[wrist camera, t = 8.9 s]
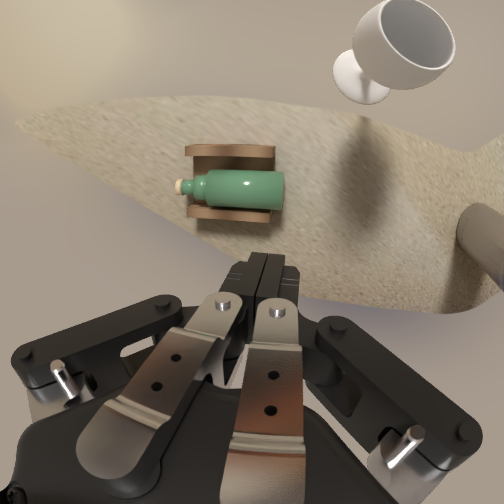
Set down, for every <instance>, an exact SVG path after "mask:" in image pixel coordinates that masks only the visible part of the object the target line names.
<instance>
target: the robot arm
mask: <svg viewBox="0 0 504 504" xmlns="http://www.w3.org/2000/svg"><path fill="white" fill-rule="evenodd" d="M457 239H458V243H459V245H460V247H461V248H462V249H463V250H464V251H465V252H466V253H467V254H468V255H469V256H470V257H471V258H472V259H473V260H474V261H475V262H476V263H477V264H478V265H479V266H480V267H481V268H482V269H483V270H484V271H485V272H486V273H487V274H488V275H489V277H490V278H491V279H492V280H493V281H494V282H495V283H496V284H497V285H498V286H499V287H500V289H501V290H502V291H503V292H504V215H502V214H500V213H499V212H497V211H496V210H494V209H492V208H490V207H489V206H487V205H485V204H482V203H476V204H473V205H471V206H470V207H468V208H467V209H466V210H465V211H464V213H463V214H462V216H461V218H460V220H459V223H458V228H457ZM299 279H300V272H299V271H298V269H297V268H296V267H294V266H285V255H280V254H269V255H268V253H258V252H252V253H251V255H250V257H249V260H248V262H243V261H239V262H237V263H236V264H234V265H233V266H232V267H231V269H230V271H229V273H228V275H227V277H226V279H225V280H224V282H223V284H222V286H221V288H220V290H219V292H217V293H213V294H211V295H209V296H207V297H206V298H205V300H204V301H203V302H202V304H201V305H200V306H192V307H182V303H181V300H180V299H179V298H178V297H176V296H173V295H158V296H155V297H152V298H150V299H147V300H144V301H141V302H139V303H136V304H133V305H131V306H128V307H125V308H122V309H120V310H117V311H114V312H112V313H109V314H106V315H103V316H101V317H98V318H95V319H93V320H90V321H87V322H84V323H81V324H79V325H76V326H73V327H71V328H68V329H65V330H62V331H59V332H57V333H54V334H51V335H48V336H45V337H43V338H40V339H37V340H34V341H31V342H29V343H26V344H24V345H21V346H20V347H18V348H17V349H16V350H15V351H14V353H13V355H12V357H11V365H12V367H13V368H14V370H15V371H16V373H17V374H18V376H19V377H20V379H21V380H22V383H23V384H24V386H25V387H26V389H27V395H28V400H29V407H30V412H31V417H32V422H33V424H31V425H30V426H29V427H28V428H26V430H25V431H24V432H23V434H22V435H21V437H20V439H19V442H18V445H17V453H16V462H15V467H14V472H13V475H12V479H11V481H10V483H9V485H8V486H7V487H6V488H5V489H4V490H2V491H0V504H420V503H421V502H422V501H423V500H424V499H425V498H426V497H427V496H428V495H429V494H430V493H431V492H432V491H433V490H434V489H435V487H436V486H437V485H438V484H439V483H440V482H441V481H442V479H443V478H444V477H445V476H446V475H447V474H448V473H450V472H451V471H453V470H454V469H455V468H456V467H458V466H459V465H460V464H462V463H463V462H464V461H466V460H467V459H468V458H469V457H470V456H472V455H473V454H474V453H475V452H476V451H477V450H478V449H479V448H480V446H481V444H482V439H483V435H482V429H481V427H480V425H479V424H478V422H477V421H476V420H475V419H474V418H472V417H471V416H470V415H469V414H467V413H466V412H465V411H464V410H463V409H461V408H460V407H459V406H458V405H456V404H455V403H454V402H453V401H451V400H450V399H449V398H448V397H447V396H445V395H444V394H443V393H442V392H440V391H439V390H438V389H437V388H435V387H434V386H433V385H432V384H430V383H429V382H428V381H426V380H425V379H424V378H423V377H422V376H420V375H419V374H418V373H417V372H415V371H414V370H413V369H412V368H410V367H409V366H408V365H407V364H405V363H404V362H403V361H402V360H400V359H399V358H398V357H397V356H395V355H394V354H393V353H392V352H390V351H389V350H388V349H386V348H385V347H384V346H383V345H382V344H380V343H379V342H378V341H376V340H375V339H374V338H373V337H371V336H370V335H369V334H368V333H366V332H365V331H364V330H363V329H361V328H360V327H359V326H358V325H356V324H355V323H354V322H352V321H351V320H349V319H347V318H345V317H341V316H328V317H325V318H323V319H321V320H320V321H319V322H318V323H317V322H314V321H311V320H309V319H307V318H305V317H303V316H302V315H301V314H300V313H299V311H298V308H297V303H298V292H299ZM150 336H152V340H153V344H154V345H153V346H150V347H148V348H146V349H143V350H141V351H139V352H136V353H134V354H132V355H129V356H126V357H120V353H121V350H122V349H123V348H124V347H126V346H128V345H131V344H133V343H135V342H138V341H140V340H142V339H145V338H147V337H150ZM245 344H249V349H248V355H247V360H246V366H245V372H244V378H243V383H242V388H241V389H230V386H231V384H232V381H233V379H234V377H235V375H236V372H237V370H238V367H239V365H240V363H241V360H242V357H243V356H242V355H243V354H242V353H243V350H244V347H245ZM303 379H304V380H305V383H306V386H307V387H308V389H309V390H310V391H311V392H312V393H313V394H314V396H315V397H316V398H317V399H318V400H319V401H320V402H321V403H322V404H323V406H325V408H326V409H327V410H328V411H329V412H330V413H331V414H332V415H333V416H334V417H335V418H336V420H337V421H338V422H339V423H340V424H341V425H342V426H343V427H344V428H345V429H346V430H347V431H348V432H349V433H350V435H351V436H352V437H353V438H354V439H355V440H356V441H357V442H358V443H359V444H360V445H361V446H362V447H363V448H364V449H365V450H366V451H367V452H368V453H369V456H368V459H367V467H368V470H369V471H368V470H367V468H366V467H365V466H364V465H363V464H362V463H361V462H360V460H359V459H358V458H357V457H356V456H355V455H354V454H353V452H352V451H351V450H350V449H349V448H348V447H347V446H346V444H345V443H344V442H343V441H342V440H341V439H340V437H339V436H338V435H337V434H336V433H335V431H333V429H332V428H331V427H330V426H329V425H328V423H327V422H326V421H325V420H324V419H323V418H322V417H321V416H320V415H319V414H317V413H316V412H315V411H313V410H312V409H310V408H308V407H306V406H304V405H303Z"/></svg>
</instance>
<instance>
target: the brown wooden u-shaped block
mask: <svg viewBox="0 0 504 504" xmlns="http://www.w3.org/2000/svg"><path fill="white" fill-rule="evenodd" d="M185 156H193V164H194V179H195V177H196V176H197V175H207V174H208V172H209V170H211V169H223V170H256V171H274V164H275V146H268V145H242V144H194V145H189V146H185ZM187 217H192V218H207V219H221V220H235V221H248V222H260V223H269V222H270V220H271V217H272V210H270V209H254V208H238V207H219V206H208V204H207V202H206V200H196V199H195V198H194V203H193V204H192V205H190V206H189V207H188V208H187Z"/></svg>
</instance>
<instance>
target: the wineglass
mask: <svg viewBox="0 0 504 504" xmlns="http://www.w3.org/2000/svg"><path fill="white" fill-rule="evenodd" d="M352 47H353V49H352V50H348V51H346V52H344V53H342V54H341V55H340V56H339V57H338V58H337V59H336V61H335V63H334V67H333V77H334V81H335V83H336V85H337V87H338V89H339V90H340V91H341V92H342V94H343V95H345V96H346V97H347V98H349V99H350V100H352V101H354V102H357V103H360V104H366V105H370V104H375V103H378V102H380V101H382V100H383V99H385V98H386V96H387V95H388V94H389V92H390V89H396V90H408V89H414V88H418V87H421V86H424V85H426V84H428V83H430V82H432V81H433V80H435V79H436V78H437V77H439V76H440V75H441V74H442V73H443V72H444V71H445V70H446V69H447V68H448V67H449V65H450V64H451V63H452V61H453V59H454V56H455V41H454V37H453V34H452V32H451V30H450V28H449V26H448V25H447V23H446V22H445V20H444V19H443V18H442V17H441V16H440V15H439V14H438V13H437V12H436V11H435V10H434V9H432V8H431V7H429V6H428V5H426V4H424V3H423V2H421V1H418V0H386V1H384V2H382V3H380V4H378V5H376V6H375V7H373V8H372V9H371V10H369V11H368V12H367V13H366V14H365V15H364V16H363V17H362V19H361V20H360V22H359V23H358V25H357V27H356V30H355V32H354V36H353V43H352Z"/></svg>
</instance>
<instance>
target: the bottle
mask: <svg viewBox="0 0 504 504" xmlns="http://www.w3.org/2000/svg"><path fill="white" fill-rule="evenodd" d="M175 192H176V194H177V195H194V198H195V199H196V200H206V202H207V204H208V206H219V207H238V208H254V209H270V210H282V206H283V195H284V172H276V171H256V170H223V169H211V170H209V172H208V174H207V175H197V176H196V177H195V179H194V180H185V179H178V180H177V181H176V184H175Z"/></svg>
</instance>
